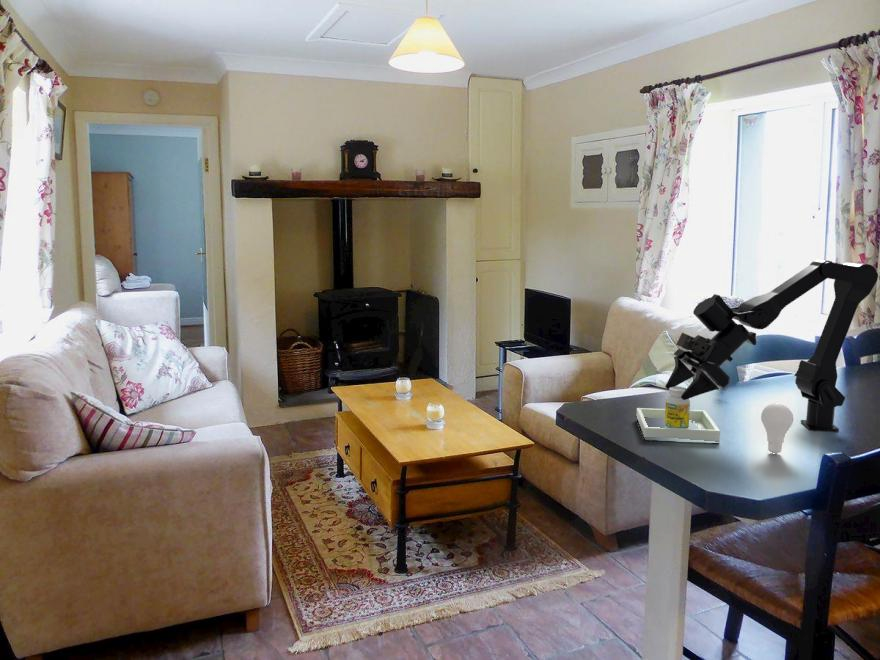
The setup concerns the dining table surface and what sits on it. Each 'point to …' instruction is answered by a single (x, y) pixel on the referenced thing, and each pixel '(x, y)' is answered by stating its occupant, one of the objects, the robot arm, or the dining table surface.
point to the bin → (699, 416)
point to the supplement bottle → (677, 409)
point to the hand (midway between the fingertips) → (674, 393)
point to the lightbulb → (776, 425)
